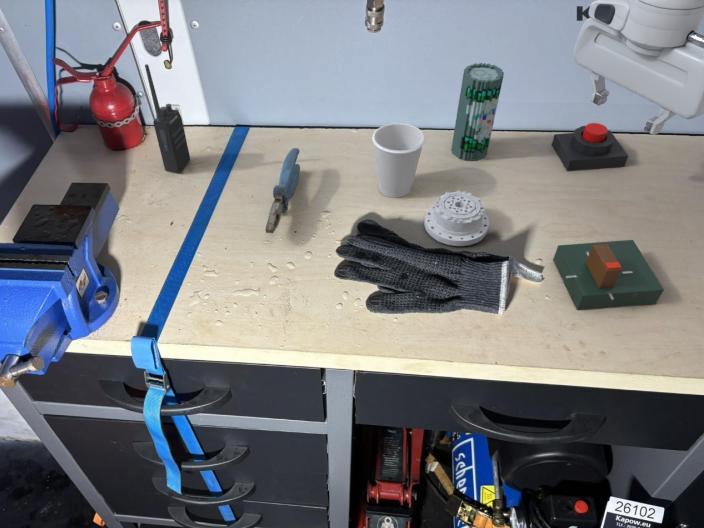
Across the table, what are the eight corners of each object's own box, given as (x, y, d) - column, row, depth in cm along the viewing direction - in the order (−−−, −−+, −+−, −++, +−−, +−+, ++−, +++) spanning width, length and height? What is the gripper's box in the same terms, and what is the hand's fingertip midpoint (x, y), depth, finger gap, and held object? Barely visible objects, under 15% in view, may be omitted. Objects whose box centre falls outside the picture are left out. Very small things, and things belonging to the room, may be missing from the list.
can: (467, 164, 107) (481, 85, 95) (445, 148, 110) (456, 70, 99) (493, 153, 108) (511, 74, 97) (471, 137, 112) (485, 59, 101)
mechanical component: (432, 201, 100) (416, 239, 94) (435, 179, 97) (419, 217, 91) (493, 213, 98) (481, 253, 92) (498, 191, 94) (486, 232, 88)
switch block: (606, 140, 109) (613, 121, 106) (624, 166, 104) (632, 147, 101) (551, 144, 109) (557, 125, 106) (566, 171, 104) (573, 151, 101)
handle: (585, 262, 85) (593, 243, 82) (599, 261, 85) (608, 242, 82) (598, 288, 82) (607, 269, 79) (613, 287, 82) (623, 268, 79)
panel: (625, 254, 90) (633, 238, 88) (659, 310, 83) (668, 294, 80) (545, 260, 90) (550, 244, 88) (571, 316, 83) (578, 301, 80)
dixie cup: (426, 198, 101) (433, 147, 93) (378, 206, 100) (381, 155, 93) (410, 169, 106) (415, 118, 99) (364, 177, 106) (366, 126, 98)
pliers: (277, 247, 95) (273, 219, 90) (263, 246, 95) (260, 217, 90) (303, 171, 107) (301, 143, 103) (291, 170, 108) (289, 142, 103)
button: (599, 131, 105) (602, 122, 104) (607, 142, 103) (611, 133, 102) (579, 132, 105) (582, 123, 104) (586, 144, 103) (590, 135, 101)
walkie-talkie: (180, 175, 109) (154, 69, 94) (164, 171, 109) (136, 66, 95) (193, 160, 111) (170, 55, 97) (177, 156, 112) (152, 52, 97)
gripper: (755, 42, 71) (703, 143, 81) (614, -13, 83) (584, 81, 93) (720, 57, 69) (671, 159, 79) (581, -1, 81) (554, 93, 91)
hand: (623, 116), depth 86 cm, fingers open, 8 cm apart
